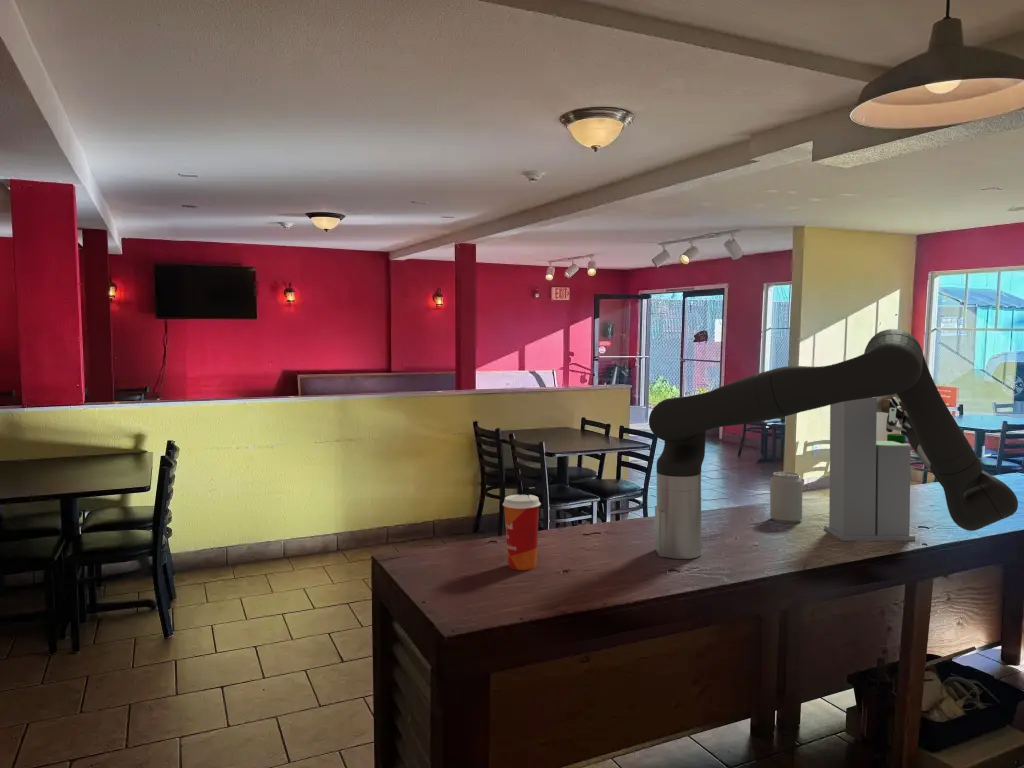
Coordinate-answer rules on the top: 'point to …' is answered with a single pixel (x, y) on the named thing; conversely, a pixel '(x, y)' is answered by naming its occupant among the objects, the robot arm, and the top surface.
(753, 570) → the top surface
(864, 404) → the stand
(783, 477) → the can
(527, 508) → the paper cup
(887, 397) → the peg
